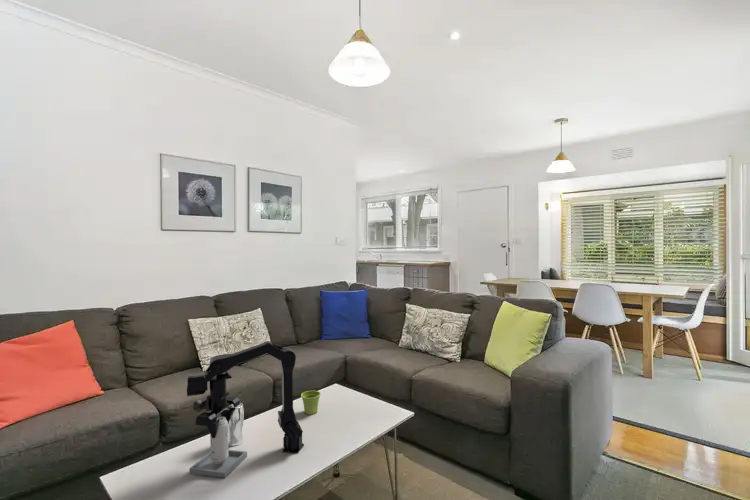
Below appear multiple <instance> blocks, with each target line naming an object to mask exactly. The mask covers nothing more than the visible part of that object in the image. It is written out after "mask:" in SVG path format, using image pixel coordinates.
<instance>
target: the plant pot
mask: <svg viewBox="0 0 750 500" xmlns="http://www.w3.org/2000/svg"><path fill="white" fill-rule="evenodd" d="M300 397H301V399H302V403H303V408H304V413H305V414H306V415H314V414H317V413H318V411H319V401H320V397H321V392H320V391H318V390H307V391H303V392H302V393H301V394H300ZM316 412H317V413H316Z"/></svg>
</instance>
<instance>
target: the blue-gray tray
mask: <svg viewBox="0 0 750 500" xmlns="http://www.w3.org/2000/svg"><path fill="white" fill-rule="evenodd" d="M228 453H229V456H228V458H227V460H226V461H224V462H222V463H219V464H215V463H213V461H211V450H210V451H209V452H207V453H206V454H205V455H204V456H203V457H201V459H199V460H198V461H197V462H196V463H194V464H193V465H192V466H191V467H190V468H189V469H188V471H189V475H193V476H200V477H201V476H202V477H209V478H216V479H223V480H225V479H226V478H227V477H228V476H230V474H231V473H233V471H234V470H236V469H237V467H238V466H239V465H240V464H242V462H244V461H245V459H246V458H248V451H245V450H235V449H228Z"/></svg>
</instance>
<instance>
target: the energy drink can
mask: <svg viewBox="0 0 750 500" xmlns="http://www.w3.org/2000/svg"><path fill="white" fill-rule="evenodd" d="M217 420H220V421H219V425H218V429H217V434H216V437H215V438H212V437H211V434H210V433H209V437H210V451H211V461H213V463H215V464H219V463H222V462H224V461H226V460H227V458H228V456H229V453H228V450H229V445H228V421H227V420H226V417H224V416H221V415H220V416H217Z"/></svg>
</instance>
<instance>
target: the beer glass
mask: <svg viewBox="0 0 750 500" xmlns="http://www.w3.org/2000/svg"><path fill="white" fill-rule="evenodd" d="M232 406H233V404H232ZM233 408H236V410H235V411H234V413H233V415H232V417H231V419H230V421H229V424H228V447H229V446H230V447H236V446H239V445H241V444H242V443H243V442H244V438H243V426H244V418H245V417H244V416H245V414H244V413H245V412H244V404H243V403H242V402H240V405H239V406H237V407H234V406H233Z"/></svg>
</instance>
